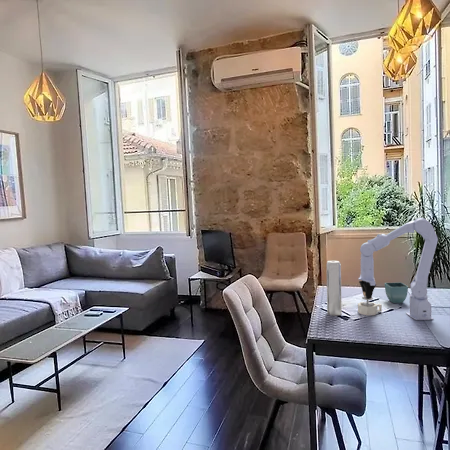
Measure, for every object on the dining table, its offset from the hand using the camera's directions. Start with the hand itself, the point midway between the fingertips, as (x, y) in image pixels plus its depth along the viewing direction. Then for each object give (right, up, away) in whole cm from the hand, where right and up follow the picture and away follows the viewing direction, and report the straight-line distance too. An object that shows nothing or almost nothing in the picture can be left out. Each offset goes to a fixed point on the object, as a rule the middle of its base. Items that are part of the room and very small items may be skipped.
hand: (367, 297), depth 185 cm
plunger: (0, -4, 0) cm, 4 cm away
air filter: (-15, -8, +1) cm, 17 cm away
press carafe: (+2, -7, +1) cm, 7 cm away
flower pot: (+20, -5, +16) cm, 26 cm away
